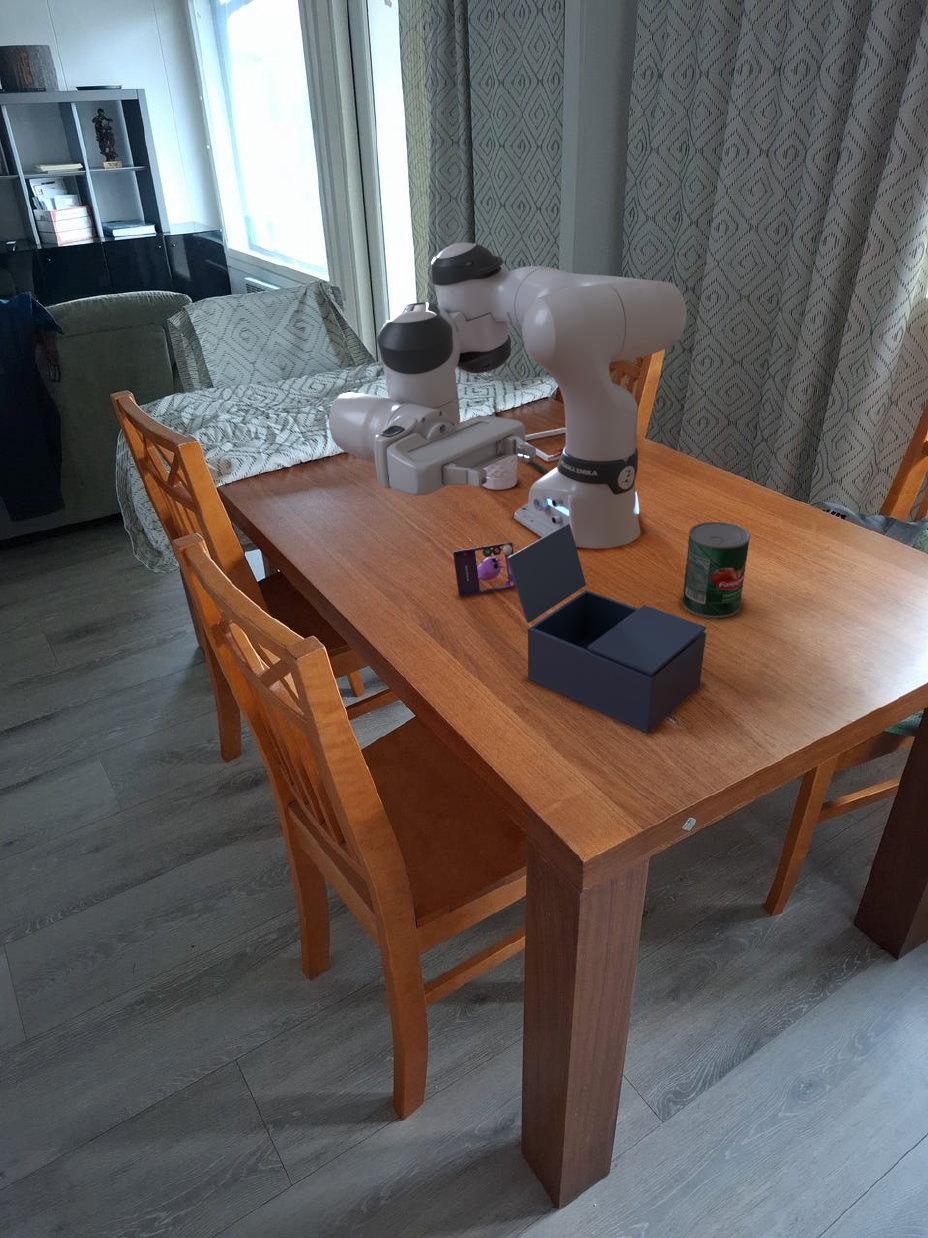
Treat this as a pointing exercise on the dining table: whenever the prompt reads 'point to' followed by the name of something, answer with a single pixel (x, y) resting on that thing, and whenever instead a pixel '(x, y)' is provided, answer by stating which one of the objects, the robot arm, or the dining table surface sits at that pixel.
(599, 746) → the dining table surface
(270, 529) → the dining table surface
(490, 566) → the game card
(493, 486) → the white cup
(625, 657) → the carton
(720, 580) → the canned tomato
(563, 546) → the flap
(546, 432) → the photo frame
